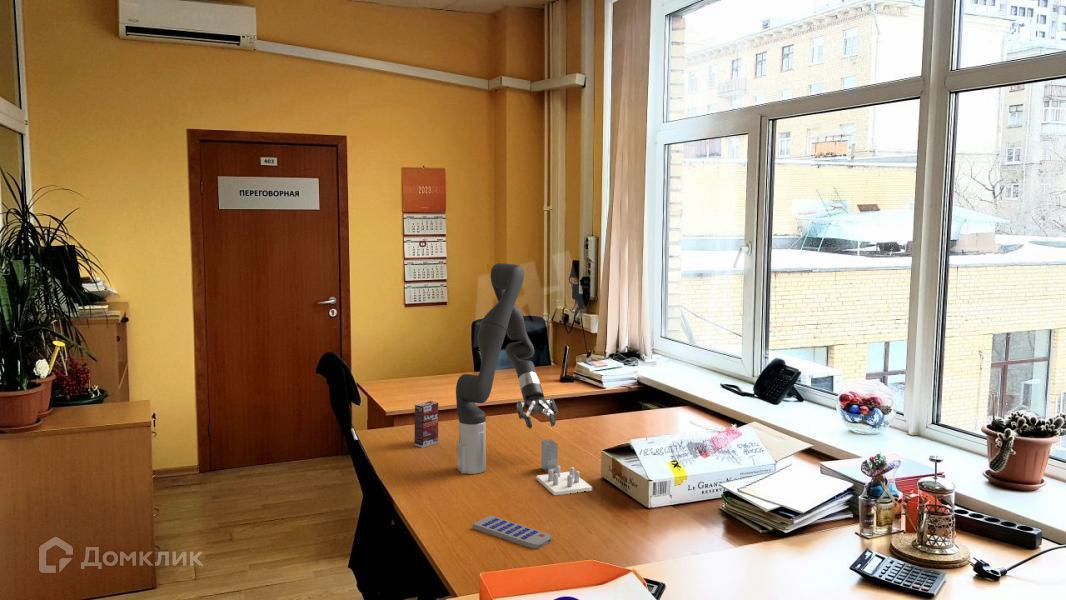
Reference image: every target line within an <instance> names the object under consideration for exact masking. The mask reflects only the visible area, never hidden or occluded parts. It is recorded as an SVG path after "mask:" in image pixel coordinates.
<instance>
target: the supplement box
mask: <svg viewBox="0 0 1066 600" xmlns="http://www.w3.org/2000/svg"><path fill="white" fill-rule="evenodd" d="M436 444H439V402H436V401H432V400H429V401H426V402H422V403H417V404H414V446H416V447H418V448H425V447H429V446H432V445H436Z"/></svg>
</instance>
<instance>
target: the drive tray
mask: <svg viewBox="0 0 1066 600" xmlns="http://www.w3.org/2000/svg"><path fill="white" fill-rule="evenodd" d="M535 479H536V481H537V482H539V483H540V484H541V485H542V486H543V487H545V488H546V489H547V490H548V491H549V492H550V493H551V494H552V495H553V496H562V495H570V493H571V494H576V493H577V492H578V493H583V492H584V491H586V492H591V491H593V486H592V485H591V484H589V483H588V482H587V481H585V480H584V479H582V478H581V477H580V471H579V470H575V467H574V466H570V467H569V470H568V471H565V472H561V465H559V464H557V466H555V473H553V470H552V469H550V470H548V473H546V474H540V475H539V474H538V475H536V476H535ZM578 493H577V494H578Z"/></svg>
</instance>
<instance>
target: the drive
mask: <svg viewBox="0 0 1066 600" xmlns="http://www.w3.org/2000/svg"><path fill="white" fill-rule="evenodd" d="M558 448H559V447H558V443H557V442H556V441H555V440H552V439H550V438H549V439H542V440H541V456H540V457H541V460H540V462H541V464H540V465H541V466H540V467H541V469H542V470H543V471H544V472H545V473H546V472H547V473H546V474H548V470H550V469H552V470H553V474H554V473H555V466H557V465H558V453H559V452H558V450H559V449H558Z"/></svg>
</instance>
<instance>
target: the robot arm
mask: <svg viewBox="0 0 1066 600" xmlns="http://www.w3.org/2000/svg"><path fill="white" fill-rule="evenodd" d="M489 275H490V276H489V277H490V283H491V286H492V288H493V291H494V294H495V297H496V299H497V303H496V304H495V305H494V306H493V307H492V308H491V309H489V311H488V312H487V313H486V314H485V315H484V317H483V318H482V320H481V323H480V327H479V328H478V333H477V337H476V338H477V345H478V350H479V352H480V357H481V363H480V370H479V373H478V375H477V374H470V373H464V374H461V375H460V376H459V378H458V379H457V381H456V385H455V401H456V414H457V416H458V441H457V442H456V447H457V448H456V463H457V464H456V470H458V471H459V472H460V473H461V475H462V474H463V475H464V474H469V475H470V474H471V475H473V474H480V473H483V472H485V471H486V468H487V467H486V465H487V461H486V460H487V457H486V455H487V454H486V452H487V451H486V450H487V449H486V448H487V446H486V445H487V444H486V443H487V440H486V439H487V436H486V435H487V434H486V433H487V430H486V429H487V421H486V420H487V418H486V417H487V416H486V412H484V410H482V409H481V408H480V407H478V405H477V404H484V403H486V402H487V401H488V399H489V397H490V395H491V391H492V388H493V383H494V378H495V373H496V369H497V365H498V359H499V356H500V353H501V349H502V346H503V343H504V340H505V337H506V335H507V338H508V339H510V340H511V341H512V340H513V341H515V342H511V343H508V344H507V345H506V347H505V354H506V356H507V358H508V360H509V361H510V363H511V364H512V366H513V368H514V369H515V372H516V376H517V379H518V384H519V389H520V393H521V395H522V399H523V401H521V400H518V401H517V403H516V405H515V406H516V410H517V411H516V412H517V414H518V418H519V419H520V420H522V419H523V420H524V421H525V425H526V427H527V428H528V429H532V428H533V423H532V419H531V416H530V414H531V413H532V414H536V413H538V414H539V413H543V414H544V415H546V416H548V417H549V418H548V421H549V423H550V426H551V427H554V426H555V425H556V422H557V421H556V417H555V416H557V414H558V412H559V409H558V406H557V404H556V402H555V399H554V398H553V397H551V398H550V399H546V398H545V394H544V390H543V388H542V384H541V381H540V378H539V377H538V376H539V375H538V374H537V371H536V367H535V364H534V362H533V361H531V360H527V359H530V358H532V357H533V356H534V354H535V348H534V345H533V343H532V341H531V339H530V338H529V335H528V333H527V330H526V323H525V319H524V315H523V313H522V311H521V310H520V308H519V307H518V306H517V305H516V302H517V299H518V296H519V294H520V292H521V290H522V286H523V284H524V279H525V270H524V268H523V266H522V265H520V264H515V263H501V262H499V263H496V264H494V265H493V266H492V267H491V270H490V274H489ZM524 407H525V409H527V411H526V412H525V413H524V409H523V408H524Z"/></svg>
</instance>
